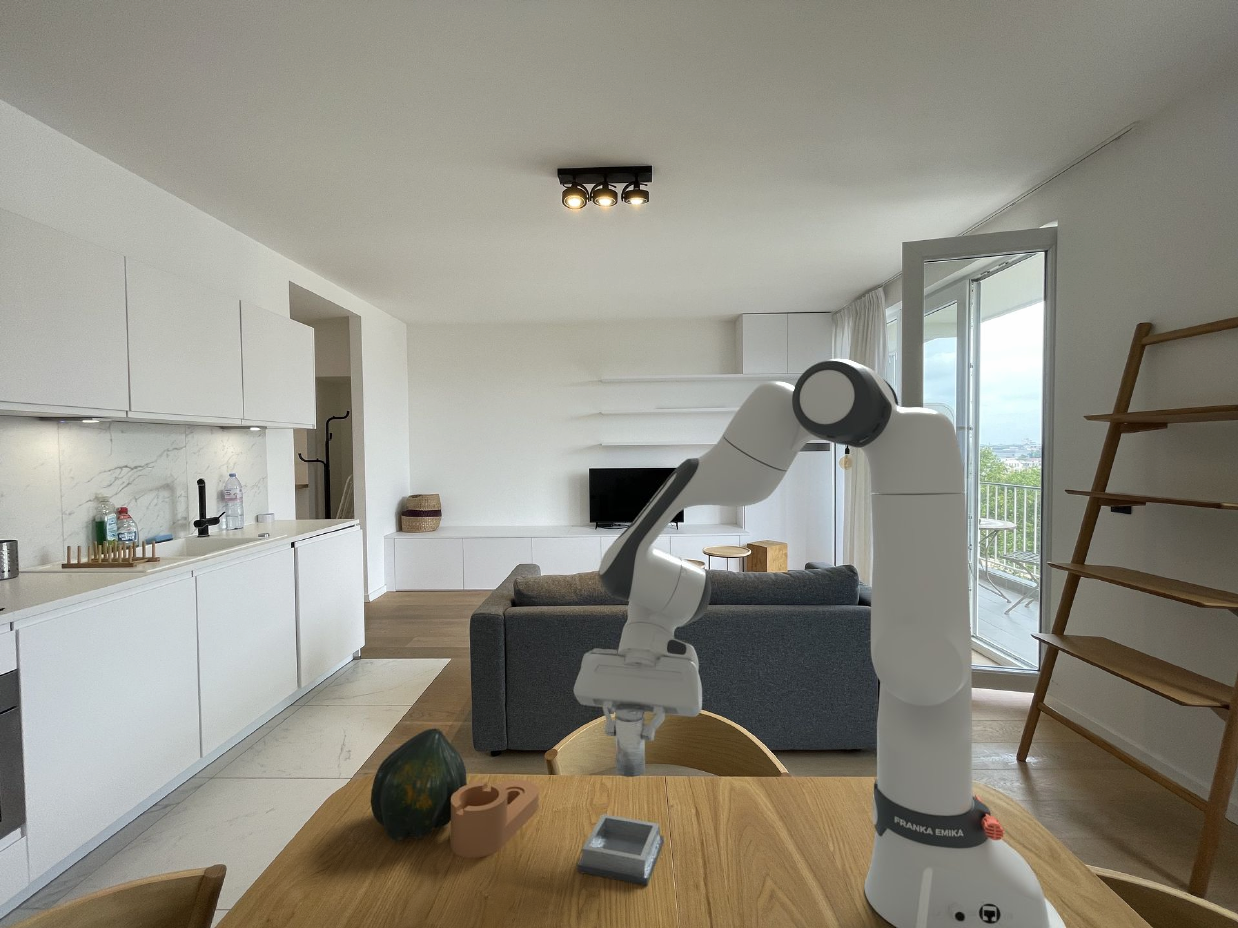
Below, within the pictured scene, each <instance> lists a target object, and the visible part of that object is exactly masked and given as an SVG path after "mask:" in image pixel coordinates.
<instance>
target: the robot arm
mask: <svg viewBox="0 0 1238 928" xmlns="http://www.w3.org/2000/svg"><path fill="white" fill-rule="evenodd" d="M814 439H820V440H823V441H826V442H827V441H828V442H831V443H832V444H837V445H842V446H847V447H848V446H849V447H853V448H858V449H859V448H860V450H862V451H863V452H864V453H865V456H866V457H867V460H868V465H869V471H870V493H871V494H870V495H871V496H870V499H871V500H870V501H871V525H872V570H871V571H872V572H871V573H872V574H871V595H870V596H871V598H870V601H871V602H870V655H871V662H872V665H873V668H874V669H873V670H874V672H875V674H876V676H877V678H878V680H879V683H880V684H879V696H878V697H879V698H878V711H877V718H876V719H877V720H876V721H877V723H876V736H877V737H876V747H877V748H876V755H877V756H876V757H877V758H876V770H877V771H876V773H877V774H876V777H877V778H876V779H875V780H874V783H873V792H872V822H873V826H874V830H875V832H874V833H875V835H874V843H873V848H872V849H873V850H872V855H871V856H872V857H871V861H870V864H869V868H868V869H869V870H868V873H867V875H866V879H865V881H864V887H863V888H864V889H863V890H864V894H865V896H866V899H867V902H868V903H869V904H870V905H871V907H872V908H873V909H874V911H875V912H877V913H878V915H879V916H881V917H882V918H883V919H884V920H885V921H887V922H888V923H890V924H891V925H893V926H894V927H896V928H1067V926H1066V925H1065V922H1064V920H1063V919H1062V917H1061V916H1060V914H1059V913H1058V911H1057V909H1056V908H1055V907H1054V906H1053V905H1052V903H1051V902H1050V901H1049V900H1048V899H1047V897H1045V896H1044V891H1043V890H1042V887H1041V883H1040V882H1039V880H1038V877H1037V875H1036V874H1035V873H1034V871H1033V870H1032V868H1031V866H1030V864H1028V862H1027V861H1026V860H1025V858H1024V857H1023V856H1022V855H1021V854H1020V853H1019V852H1018V851H1016V849H1014V848H1013V847H1011V846H1010V845H1009V844H1008V843H1006V842H1005V841H1004V840H1003V839H1002V838H1004V834H1005V832H1004V828H1003V827H1002V825H1001V824H1000V821H999V820H998V819H997V818H996V817H995V816H993V815H991V811H990V809H989V807H988V806H987V805H986V804H985V803H984V802H983V801H982V800H981V798H980V797H979V795H977V793H974V795H973V792H974V791H973V696H972V694H973V693H972V691H973V689H972V687H973V685H972V683H973V682H972V681H973V679H972V677H973V676H972V674H973V673H972V672H973V671H972V669H973V668H972V663H973V658H972V657H973V654H972V649H973V648H972V630H971V612H970V611H971V610H970V589H969V588H970V585H969V557H968V556H969V554H968V536H967V535H968V534H967V511H966V506H967V505H966V492H965V491H966V489H965V488H966V486H965V475H964V468H963V467H964V466H963V462H962V461H963V460H962V454H961V450H960V449H961V448H960V445H959V441H958V437H957V433H956V430H955V427H954V424H953V422H952V421H951V420H950V418H949V417H948V416H947V415H945V414H944V413H942V412H940V411H938V410H936V409H935V410H934V409H932V408H926V407H904V406H900V405H899V400H898V397H897V394H896V392H895V390H894V388H893V386H892V385H891V384H890V383H889V382H888V381H886V380H885V379H883V378H882V376H880V375H879V373H877V372H876V371H874V370H873V369H871V368H870V367H868V366H865V365H863V364H860V363H857V362H855V361H853V360H850V359H846V358H831V359H825V360H821V361H819V362H817V363H815V364H812V365H811V366H810V367H808V368H807V369H806V370H805V371H804V372H803V373H801V375H800V376H799V378H798V379H797V381H796V383H795V385H792V384H790V383H787V382H784V381H776V380H774V381H772V380H770V381H766V382H763V383H761V384H759V385H758V386H756V388H755V389H754V390H753V391H752V392H751V393H750V395H749V396H748V397H747V398H746V399H745V401H744V402H743V403H742V405H741V406H740V407H739V409H738V410H737V411H736V413H735V414H734V416H733V417H732V419H731V420H730V422H729V423H728V425H727V426H726V428H725V430H724V432H723V434H722V435H721V437H720V439H719V440H718V441H717V443H715V445H714V446H713V447H711V448H710V449H709V450H708V451H707V452H705V453H704V454H702V455H700V456H699V457H696V458H693V457H692V458H687V459H685V460H684V461H683V462H681V463H680V464H679V465H678V466H677V467H676V468H675V469H674V471H672V473H670V475H669V476H668V477H667V478H666V480H665V481H664V482H663V483H662V485H661V486H660V487H659V488H658V489H657V490H656V492H655V493H654V494H653V495H652V497H651V498H650V499H649V500H648V502H647V503H646V504H645V506H644V507H643V508H642V509H641V511H640V512H639V513H638V515H637V516H636V517H635V519H633V520H632V521H631V523H630V524H629V526H628V527H626V529H625V530H624V531H623V532H622V533H621V534H620V535H619V536H618V537H617V538H616V539H615V540H614V541H613V543H612V544H611V545H610V546H609V547H608V549H607V550H606V551H605V553H604V554H603V556H602V559H601V560H600V565H599V569H598V572H597V573H598V577H599V580H600V583H601V585H602V587H603V588H604V590H605V592H606V593H607V595H608V596H609V597H613V598H614V599H619V600H623V601H625V602H628V605H627V621H626V622H625V624H624V626H623V628H622V632H621V638H620V641H619V645H618V649H609V648H608V649H606V648H605V649H604V648H599V647H598V648H593V649H592V650H589V651H588V652H586V653H584V654H583V656H582V660H581V664H580V670H579V672H578V675H577V677H576V680H575V684H574V686H573V694H574V696H575V698H576V699H577V702H578V703H579V704H581V705H583V706H590V707H591V706H592V707H601V708H602V711H603V713H604V714H603V715H604V717H605V719H606V722H605V729H604V733H605V735H606V736H610V737H615V720H613V718H612V716H611V715H615V709H616V707H618V706H620V705H624V704H636V705H640V706H642V707H643V708H644V713H645V712H647V713H653V715H654V716H653V719H652V720H651V721H650V722H649V724H646V723H645V724H644V726H643V729H644V730H643V731H642V738H643V740H645V741H650V742H654V739H655V735H656V734H655V733H656V730H658V729H659V727H660V726H661V725H662V724H663V722H664V721H665V716H666V715H671V716H672V715H673V716H680V717H681V716H683V717H689V718H696V717H697V716H698V715H699V714H701V712H702V707H703V686H702V680H701V678H700V677H701V676H700V674H699V668H700V667H699V665H700V664H699V658H698V655H697V652H696V650H695V649H696V648H694V646H693V645H691V644H690V643H688V642H684V641H682V640H680V639H677V638H675V632H676V631H675V630H676V629H677V628H678V627H679V628H681V627H684V626H685V627H686V626H687V625H690V624H691V623H693V622H695V621H698V620H699V619H700V618H702V617H703V616H704V615H705V614H706V612H707V610H708V607H709V604H710V600H711V594H712V584H711V580H710V576H709V574H708V572H707V569H705V568H703V567H701V566H699V565H698V564H696V563H694V562H692V561H689V560H687V559H685V558H682V557H680V556H677V555H674V554H672V553H671V552H670V553H669V552H667V551H665V550H663V549H661V548H657V547H655V546H654V545H653V544H654V542H655V541H656V540H657V538H659V536H660V535H661V533H662V532H663V531H664V530H665V529H666V528H667V526H668V525H669V524H670V522H671V521H672V520H673V519H674V518H675V517H676V515H677V514H679V512H682V511H683V510H684V509H688V508H691V507H695V506H723V507H730V508H731V507H733V508H734V507H735V508H737V507H738V508H739V507H746V506H752V505H756V504H758V503H760V502H763V501H764V500H765V501H766V499H768V498H769V497H770V496H771V495H772V493H774V491H776V489H777V488H778V487H779V485H780V484H781V482H782V480H783V479H784V477H785V475H786V474H787V472H788V471H789V469H790V467H791V465H792V464H793V462H794V461H795V459H796V457H797V456H798V454H799V452H800V451H801V450H802V448H803V447H804V446H805V445H806V444H807V443H809V442H810V441H812V440H814Z"/></svg>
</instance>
